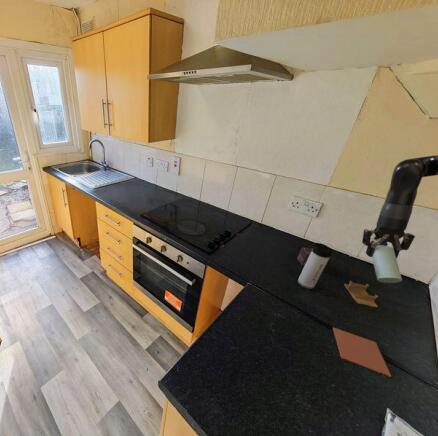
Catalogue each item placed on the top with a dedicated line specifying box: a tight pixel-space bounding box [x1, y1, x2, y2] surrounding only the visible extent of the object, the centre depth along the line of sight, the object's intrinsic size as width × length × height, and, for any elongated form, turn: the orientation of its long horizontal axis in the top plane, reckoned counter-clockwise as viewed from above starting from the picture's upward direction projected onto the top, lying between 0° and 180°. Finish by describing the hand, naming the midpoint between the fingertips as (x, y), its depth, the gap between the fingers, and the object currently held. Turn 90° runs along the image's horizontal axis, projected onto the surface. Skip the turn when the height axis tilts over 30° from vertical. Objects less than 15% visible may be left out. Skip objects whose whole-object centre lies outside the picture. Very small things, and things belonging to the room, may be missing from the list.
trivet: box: [332, 326, 392, 378], centre depth 73 cm, size 12×12×1 cm
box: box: [296, 246, 313, 267], centre depth 112 cm, size 6×6×7 cm
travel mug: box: [297, 242, 333, 290], centre depth 96 cm, size 6×7×20 cm
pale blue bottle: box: [371, 242, 403, 284], centre depth 85 cm, size 16×6×6 cm
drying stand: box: [343, 280, 379, 308], centre depth 95 cm, size 11×7×4 cm, turn 164°
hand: (380, 257), depth 86 cm, fingers closed on pale blue bottle, 6 cm apart
